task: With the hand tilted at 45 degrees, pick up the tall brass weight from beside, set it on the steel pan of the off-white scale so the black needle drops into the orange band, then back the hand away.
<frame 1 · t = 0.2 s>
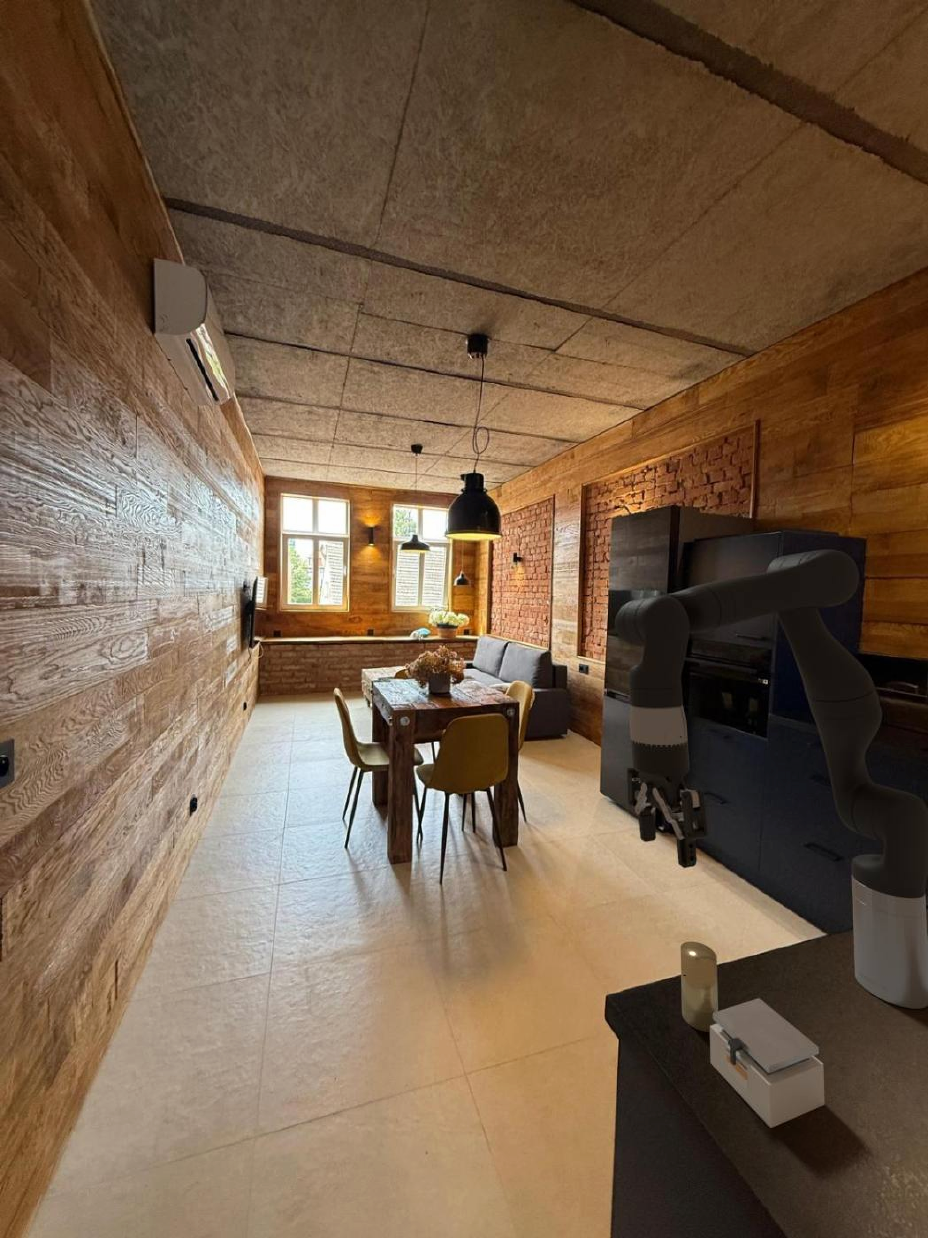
hand: (666, 852, 66), 29 cm above the counter, tool pointing down, fingers open, 8 cm apart
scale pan: (760, 1047, 62), point 5 cm above the counter, slide at 0.4 cm
scale base: (764, 1083, 62), on the counter
brass weight: (699, 1018, 73), on the counter
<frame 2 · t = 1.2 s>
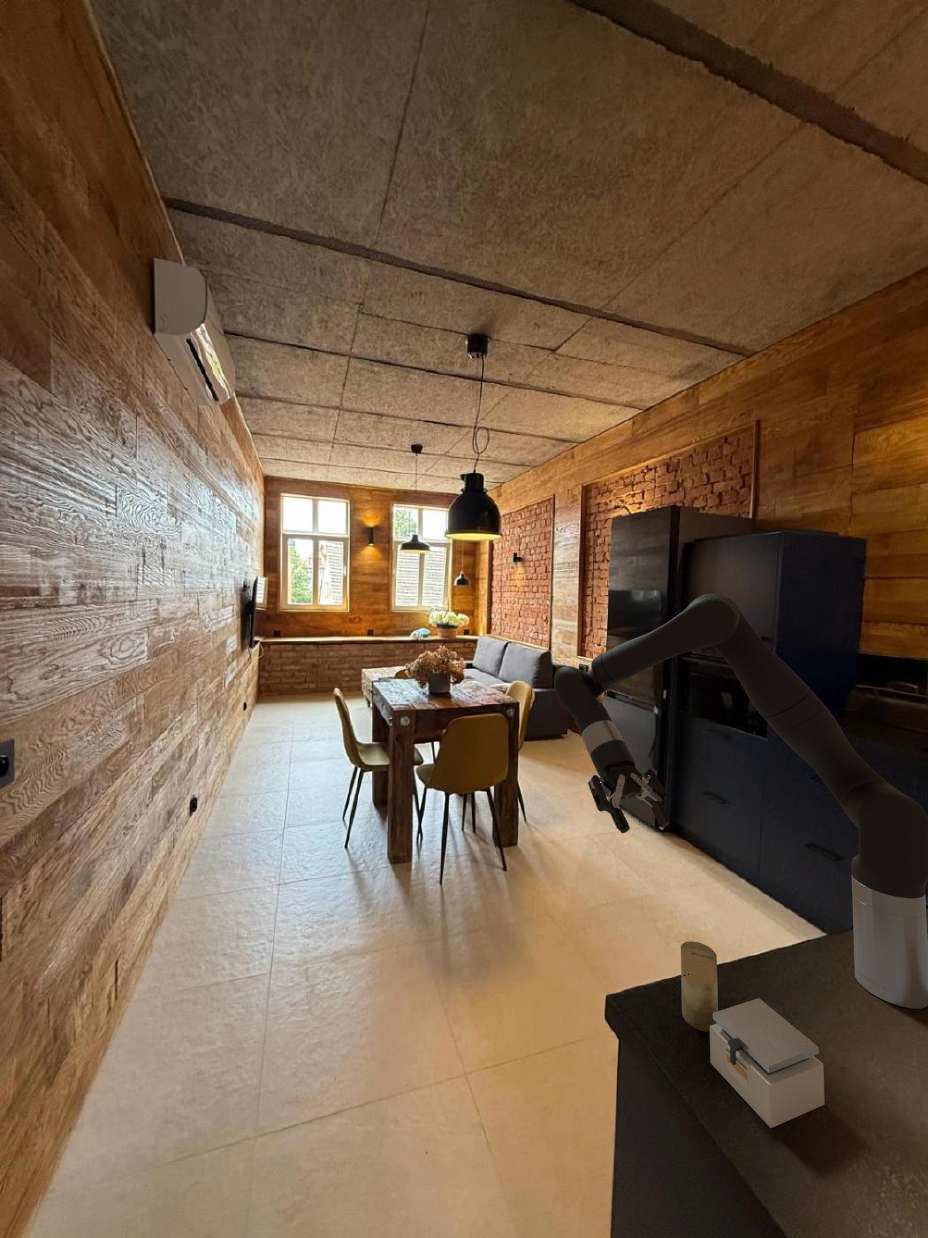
hand: (646, 828, 84), 25 cm above the counter, tool tilted 45°, fingers open, 8 cm apart
nothing on the counter moved.
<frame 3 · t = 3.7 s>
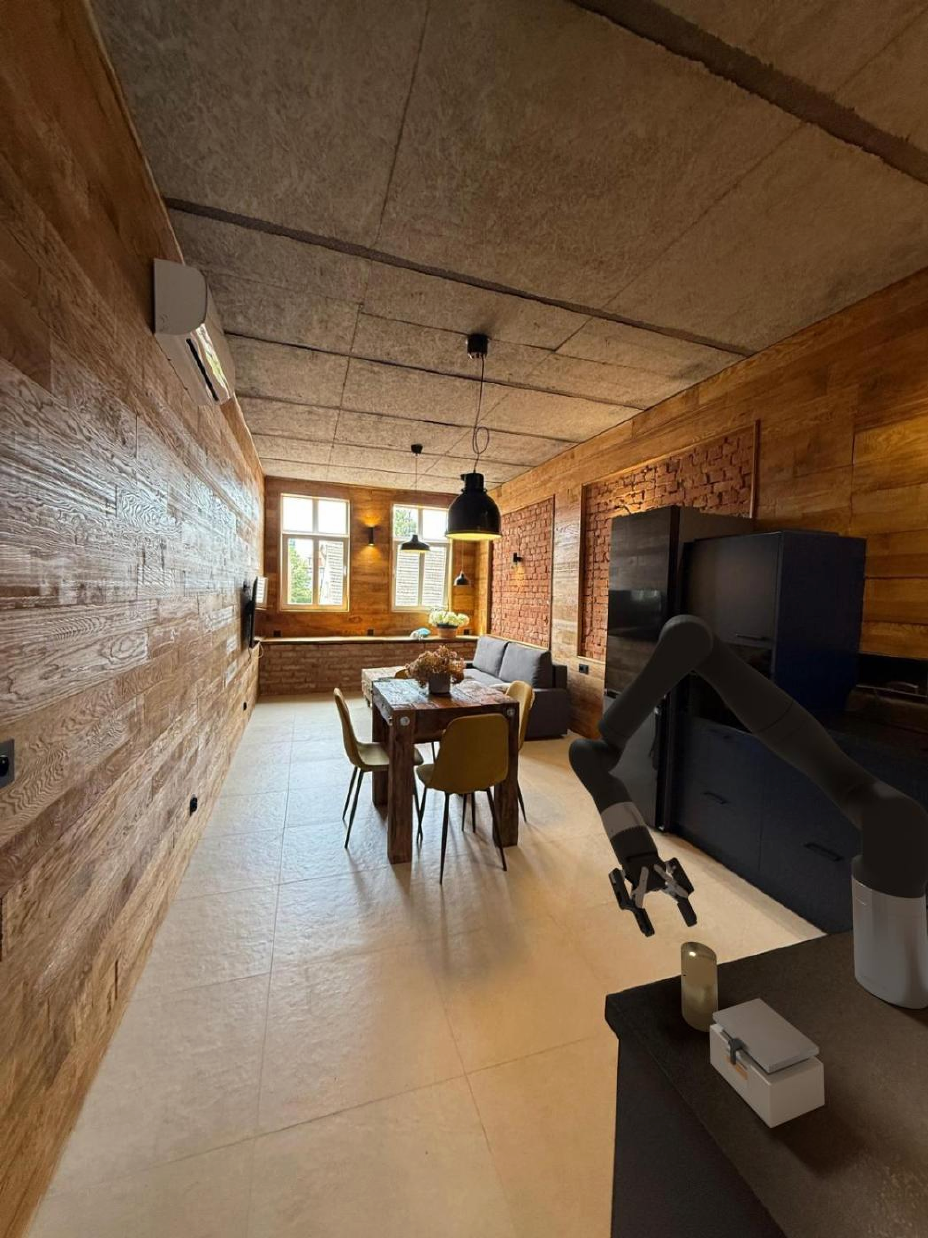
hand: (672, 930, 78), 10 cm above the counter, tool tilted 45°, fingers open, 8 cm apart
nothing on the counter moved.
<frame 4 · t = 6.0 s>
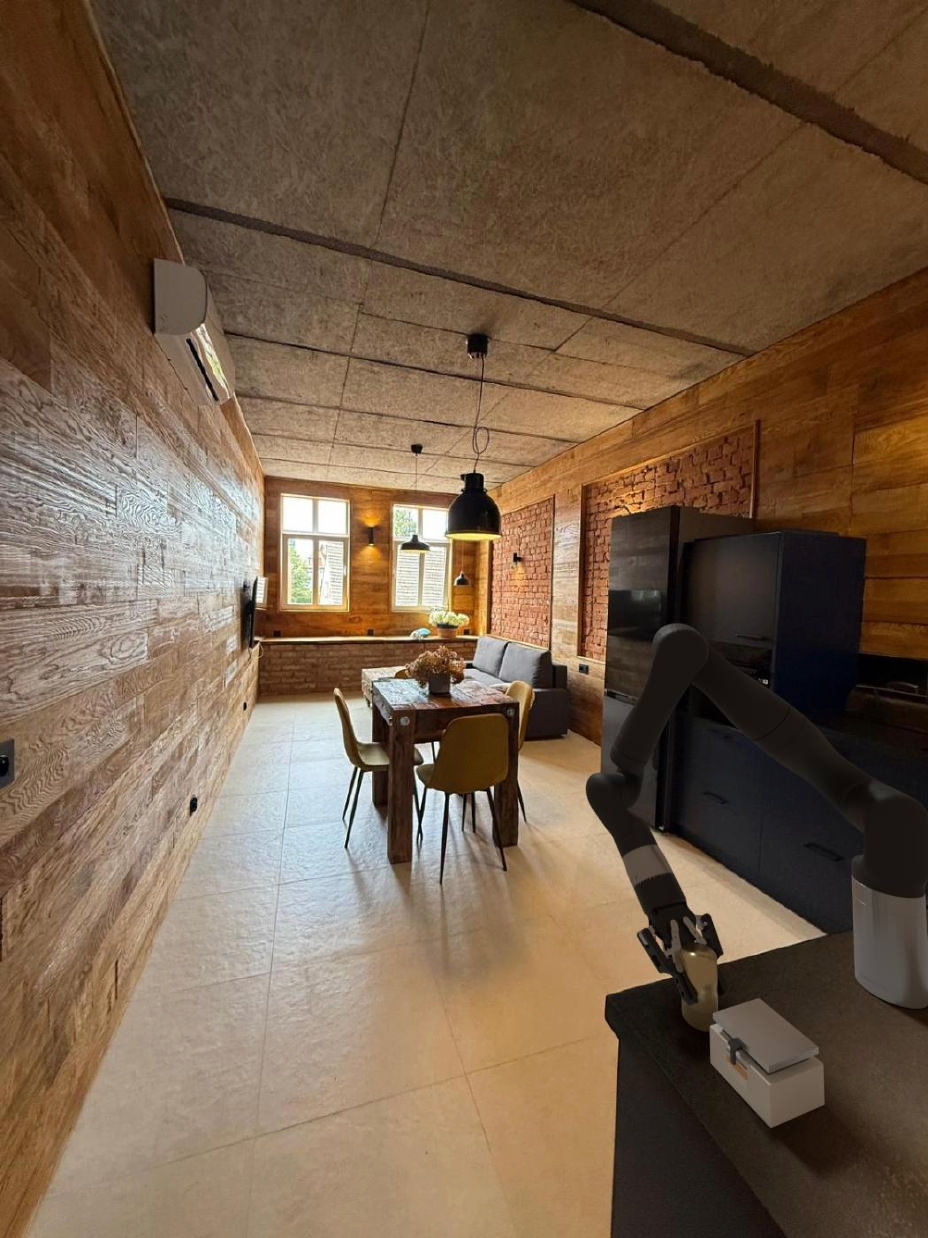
hand: (708, 999, 71), 4 cm above the counter, tool tilted 45°, fingers closed on brass weight, 5 cm apart
brass weight: (699, 1017, 73), on the counter, touching gripper
everything else where it was.
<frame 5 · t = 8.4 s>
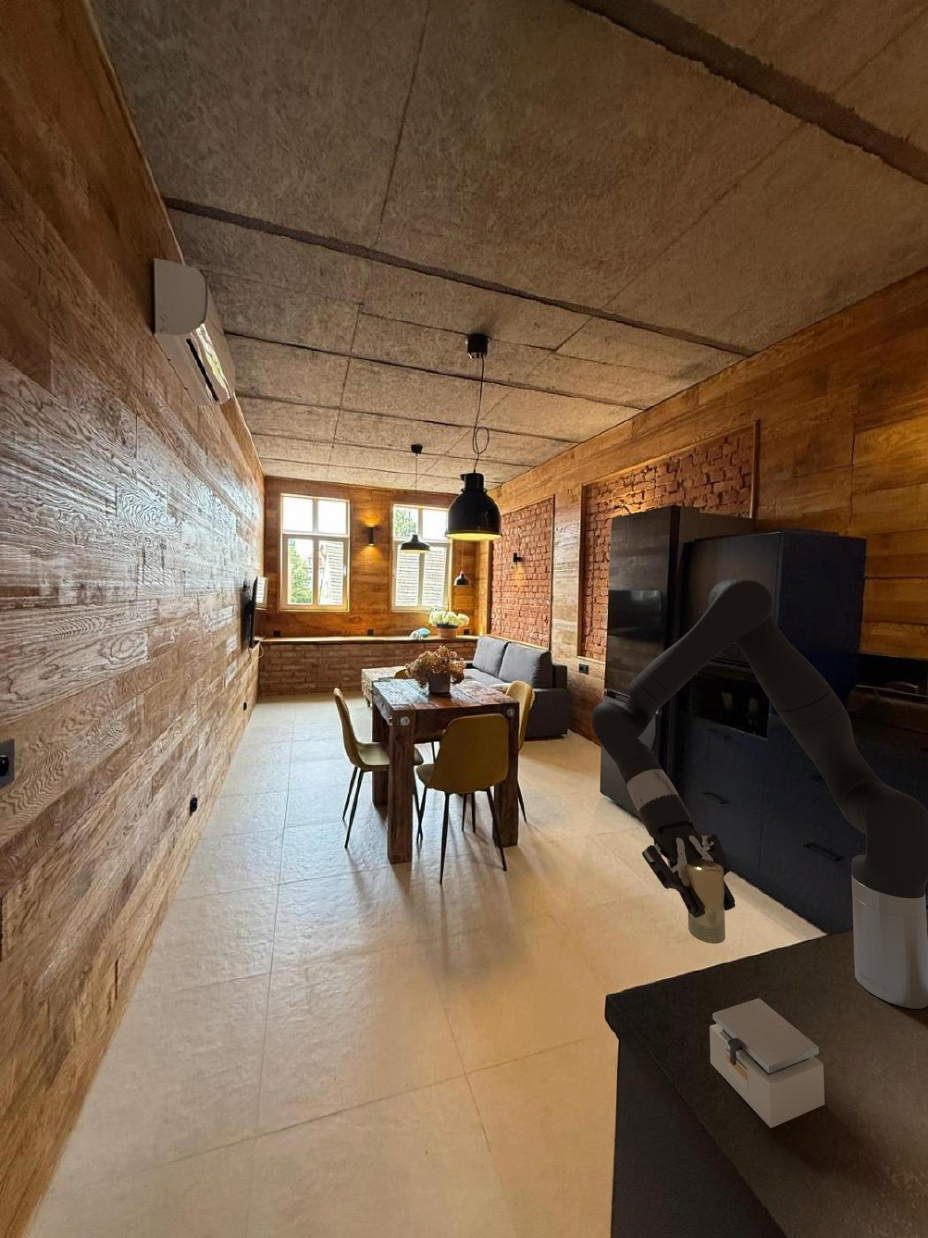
hand: (715, 912, 70), 18 cm above the counter, tool tilted 45°, fingers closed on brass weight, 5 cm apart
brass weight: (706, 932, 72), point 14 cm above the counter, touching gripper
everything else where it was.
when the fingers open (13 cm above the counter, at t = 11.2 s): brass weight drops 2 cm, resting on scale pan.
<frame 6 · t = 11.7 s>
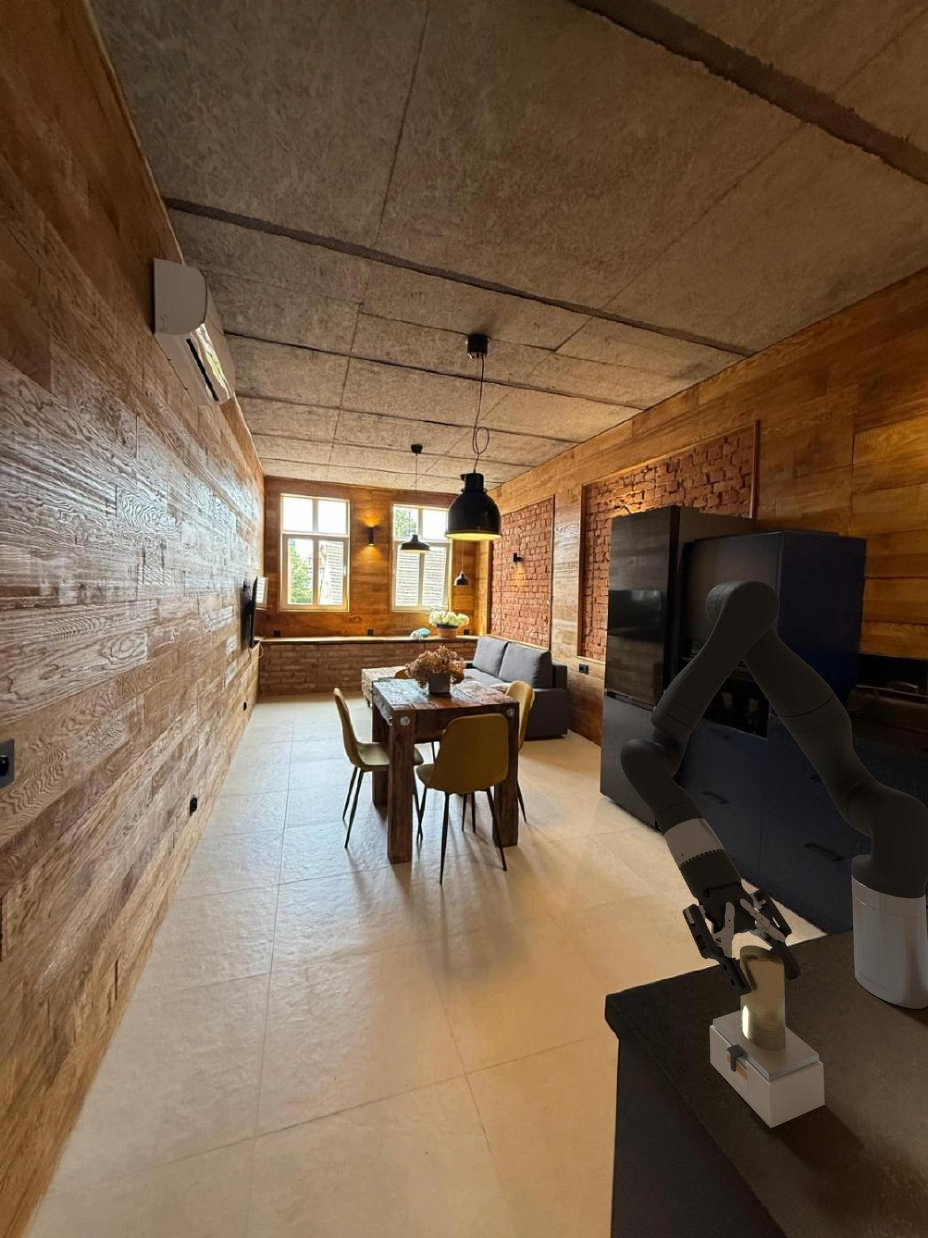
hand: (771, 986, 61), 13 cm above the counter, tool tilted 45°, fingers open, 8 cm apart
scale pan: (760, 1054, 62), point 4 cm above the counter, slide at 1.2 cm, touching brass weight
brass weight: (763, 1034, 62), point 6 cm above the counter, touching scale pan
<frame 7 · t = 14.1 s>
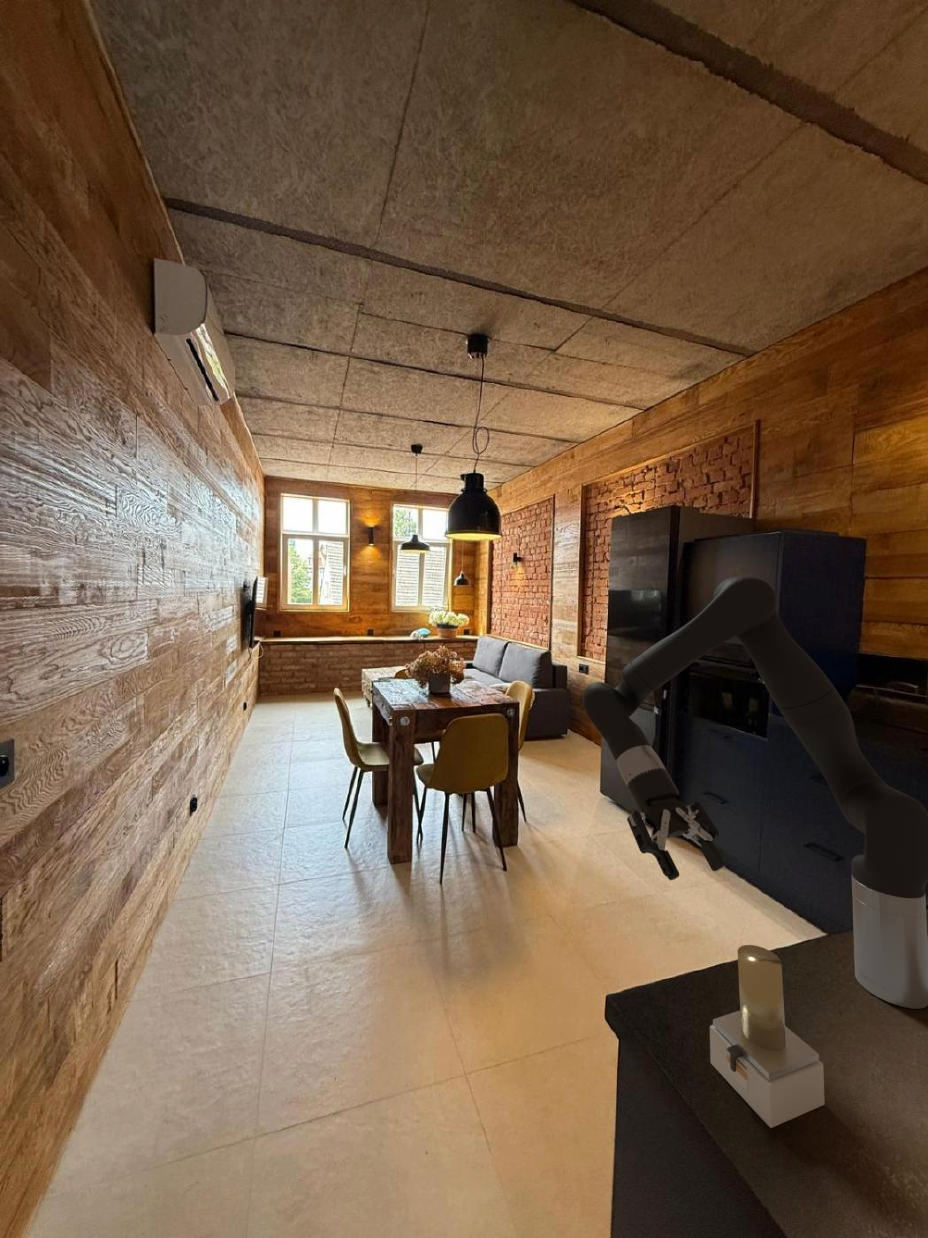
hand: (697, 873, 73), 22 cm above the counter, tool tilted 45°, fingers open, 8 cm apart
nothing on the counter moved.
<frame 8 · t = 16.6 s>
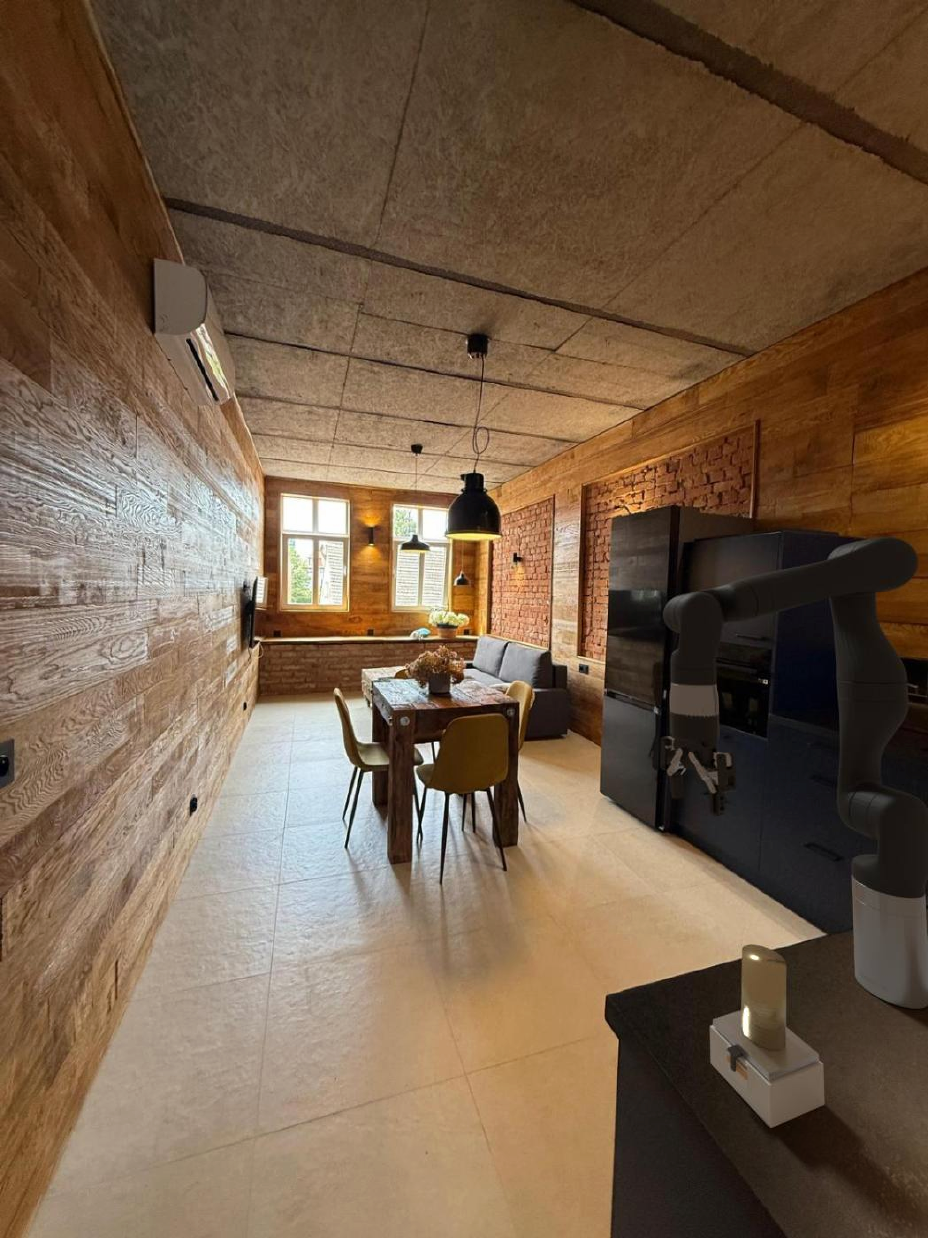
hand: (696, 806, 80), 30 cm above the counter, tool pointing down, fingers open, 8 cm apart
nothing on the counter moved.
at the end: brass weight 0.2 cm from the target spot, point 6.2 cm above the counter; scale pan slide at 1.2 cm; brass weight tilted 2° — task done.
